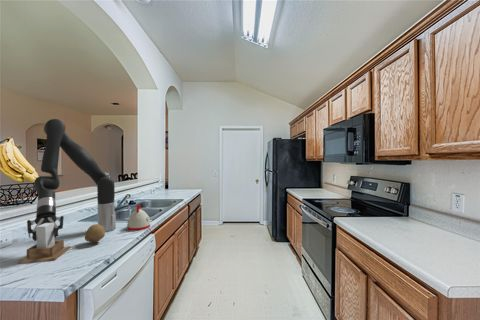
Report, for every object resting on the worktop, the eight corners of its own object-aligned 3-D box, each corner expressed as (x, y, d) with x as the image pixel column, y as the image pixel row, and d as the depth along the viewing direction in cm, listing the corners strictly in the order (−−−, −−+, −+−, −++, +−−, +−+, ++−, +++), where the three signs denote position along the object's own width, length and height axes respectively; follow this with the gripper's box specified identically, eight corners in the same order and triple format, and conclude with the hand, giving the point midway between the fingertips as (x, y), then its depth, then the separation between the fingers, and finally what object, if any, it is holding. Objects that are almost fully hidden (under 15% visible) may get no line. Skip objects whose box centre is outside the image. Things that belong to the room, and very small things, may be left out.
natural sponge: (109, 241, 128) (109, 223, 128) (94, 247, 120) (93, 227, 120) (97, 239, 132) (97, 221, 131) (82, 244, 123) (81, 225, 123)
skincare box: (45, 247, 113) (45, 222, 113) (55, 247, 114) (54, 222, 113) (35, 252, 107) (35, 226, 107) (45, 252, 108) (45, 226, 107)
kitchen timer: (124, 231, 145) (124, 207, 144) (129, 225, 158) (129, 203, 158) (148, 229, 148) (148, 206, 147) (151, 223, 161) (151, 202, 161)
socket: (70, 248, 119) (70, 238, 119) (55, 260, 105) (54, 249, 105) (38, 250, 116) (38, 240, 116) (18, 263, 102) (18, 252, 102)
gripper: (26, 206, 111) (23, 237, 102) (64, 202, 120) (64, 231, 111) (27, 214, 116) (25, 245, 107) (64, 210, 125) (64, 239, 115)
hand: (45, 238), depth 109 cm, fingers closed on skincare box, 6 cm apart
